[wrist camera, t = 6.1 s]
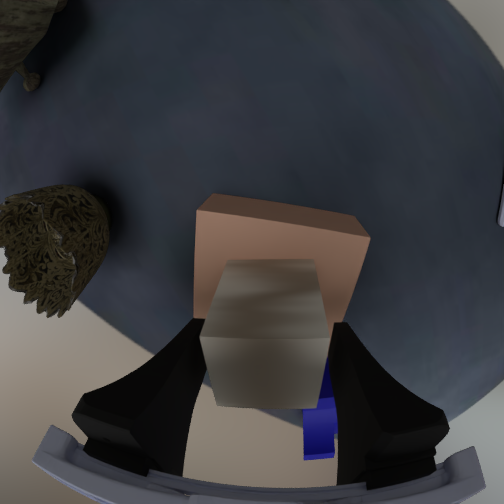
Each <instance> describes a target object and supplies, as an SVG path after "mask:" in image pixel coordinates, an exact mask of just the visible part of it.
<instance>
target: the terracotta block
mask: <svg viewBox="0 0 504 504" xmlns="http://www.w3.org/2000/svg"><path fill="white" fill-rule="evenodd" d="M370 239H371V237H370V236H369V235H368V233H367V232H366V231H365V229H364V228H363V227H362V225H361V224H360V223H359V221H358V220H357V219H356V218H355V216H352V215H347V214H342V213H336V212H331V211H326V210H320V209H315V208H309V207H303V206H297V205H291V204H285V203H279V202H272V201H266V200H259V199H252V198H245V197H238V196H231V195H223V194H215V193H213V194H212V195H211V196H210V197H209V198H208V199H207V200H206V201H205V202H204V203H203V204H202V205H201V206H200V207H199V208H198V209H197V216H196V236H195V262H194V318H203V319H206V317H207V314H208V311H209V309H210V306H211V303H212V300H213V298H214V295H215V292H216V290H217V287H218V284H219V281H220V279H221V276H222V273H223V271H224V268H225V265H226V263H227V260H264V259H314V264H315V268H316V272H317V277H318V281H319V286H320V291H321V295H322V300H323V305H324V310H325V315H326V320H327V325H328V330H329V335H330V340H331V335H332V330H333V325H334V322H342V320H343V318H344V315H345V313H346V310H347V307H348V305H349V302H350V299H351V296H352V294H353V291H354V288H355V285H356V282H357V279H358V277H359V274H360V271H361V268H362V265H363V261H364V258H365V255H366V252H367V249H368V245H369V242H370ZM329 345H330V341H329ZM328 350H329V347H328ZM327 356H328V353H327ZM326 359H327V358H326Z"/></svg>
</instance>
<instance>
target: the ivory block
mask: <svg viewBox="0 0 504 504" xmlns="http://www.w3.org/2000/svg"><path fill="white" fill-rule="evenodd" d="M199 337H200V341H201V345H202V350H203V354H204V358H205V362H206V366H207V370H208V374H209V378H210V382H211V385H212V389H213V393H214V397H215V400H216V404H217V406H225V407H238V408H239V407H240V408H258V409H309V408H317V403H318V399H319V394H320V389H321V384H322V380H323V374H324V369H325V364H326V358H327V353H328V347H329V341H330V335H329V330H328V325H327V320H326V315H325V310H324V305H323V300H322V295H321V291H320V286H319V281H318V277H317V272H316V268H315V264H314V259H264V260H227V263H226V265H225V268H224V271H223V273H222V276H221V279H220V281H219V284H218V287H217V290H216V292H215V295H214V298H213V300H212V303H211V306H210V309H209V311H208V314H207V317H206V320H205V322H204V325H203V328H202V331H201V334H200V336H199Z"/></svg>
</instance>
